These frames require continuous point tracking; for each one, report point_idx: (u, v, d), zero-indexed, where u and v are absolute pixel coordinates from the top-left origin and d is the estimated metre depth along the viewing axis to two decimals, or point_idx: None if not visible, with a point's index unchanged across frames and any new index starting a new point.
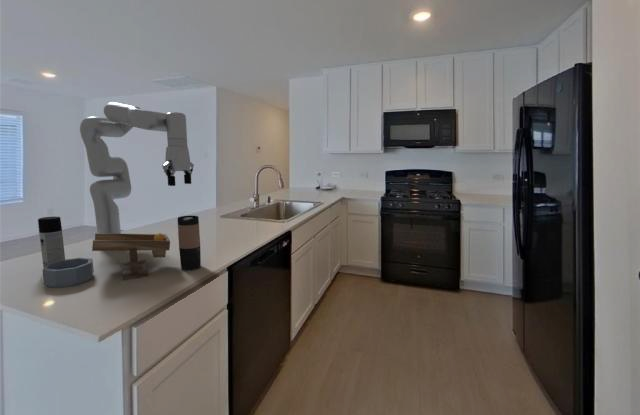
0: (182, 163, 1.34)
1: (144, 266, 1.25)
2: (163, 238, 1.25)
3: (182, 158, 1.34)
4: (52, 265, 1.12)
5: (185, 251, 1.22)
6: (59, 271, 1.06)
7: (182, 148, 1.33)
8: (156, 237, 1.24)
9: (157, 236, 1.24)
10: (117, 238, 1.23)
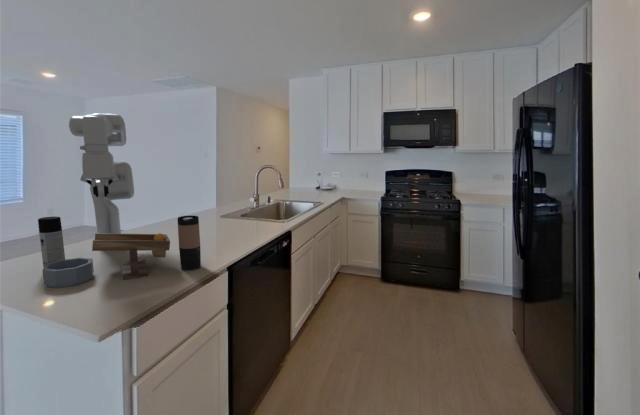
0: None
1: (144, 266, 1.25)
2: (163, 238, 1.25)
3: None
4: (52, 265, 1.12)
5: (185, 251, 1.22)
6: (59, 271, 1.06)
7: None
8: (156, 237, 1.24)
9: (157, 236, 1.24)
10: (117, 238, 1.23)
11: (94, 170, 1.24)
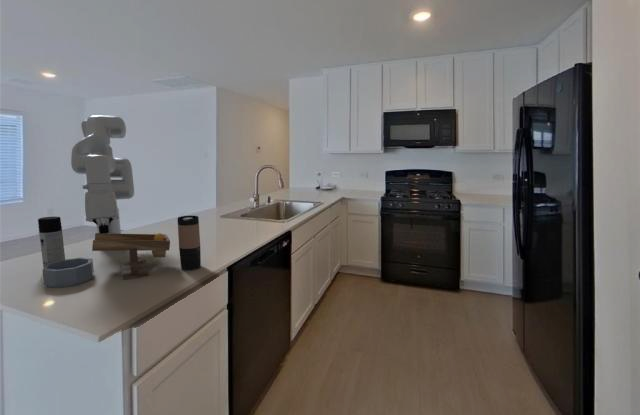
0: None
1: (144, 266, 1.25)
2: (163, 238, 1.25)
3: None
4: (52, 265, 1.12)
5: (185, 251, 1.22)
6: (59, 271, 1.06)
7: None
8: (156, 237, 1.24)
9: (157, 236, 1.24)
10: (117, 238, 1.23)
11: (97, 210, 1.21)
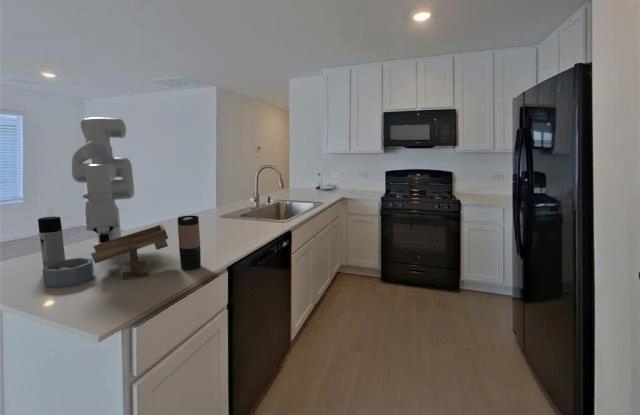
0: None
1: (144, 266, 1.25)
2: None
3: None
4: (52, 265, 1.12)
5: (185, 251, 1.22)
6: (59, 271, 1.06)
7: None
8: None
9: None
10: (116, 243, 1.23)
11: (97, 219, 1.21)
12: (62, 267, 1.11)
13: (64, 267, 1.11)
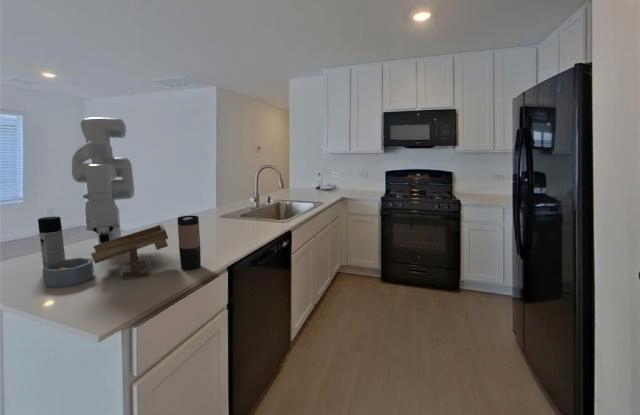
0: None
1: (144, 266, 1.25)
2: None
3: None
4: (52, 265, 1.12)
5: (185, 251, 1.22)
6: (59, 271, 1.06)
7: None
8: None
9: None
10: (116, 243, 1.23)
11: (97, 219, 1.21)
12: None
13: (57, 269, 1.11)
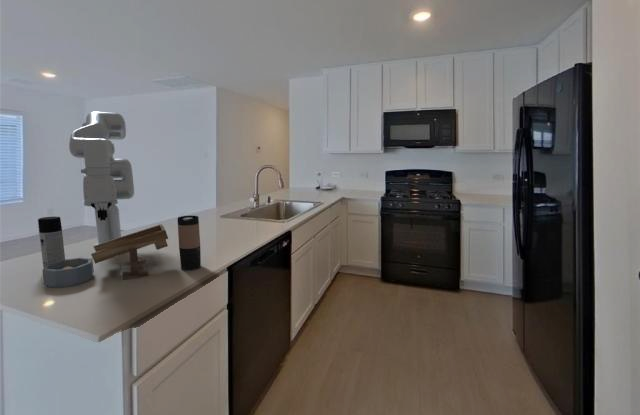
0: None
1: (144, 266, 1.25)
2: None
3: None
4: (52, 265, 1.12)
5: (185, 251, 1.22)
6: (59, 271, 1.06)
7: None
8: None
9: None
10: (116, 243, 1.23)
11: (95, 194, 1.20)
12: None
13: None
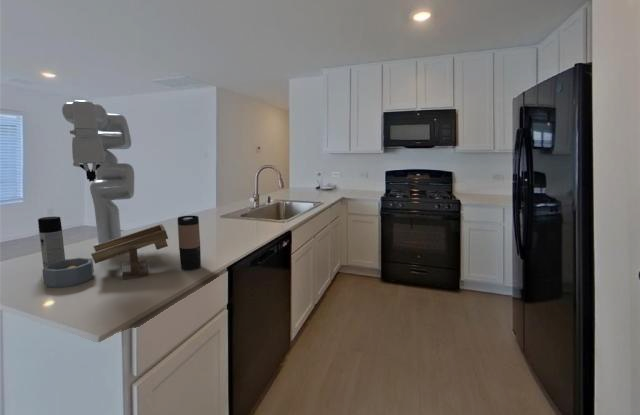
0: None
1: (144, 266, 1.25)
2: None
3: None
4: (52, 265, 1.12)
5: (185, 251, 1.22)
6: (59, 271, 1.06)
7: None
8: None
9: None
10: (116, 243, 1.23)
11: (84, 154, 1.25)
12: None
13: None
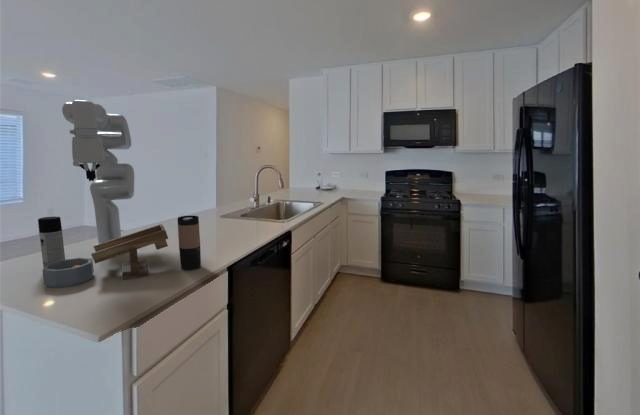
0: None
1: (144, 266, 1.25)
2: None
3: None
4: (52, 265, 1.12)
5: (185, 251, 1.22)
6: (59, 271, 1.06)
7: None
8: None
9: None
10: (116, 243, 1.23)
11: (84, 154, 1.25)
12: None
13: None
